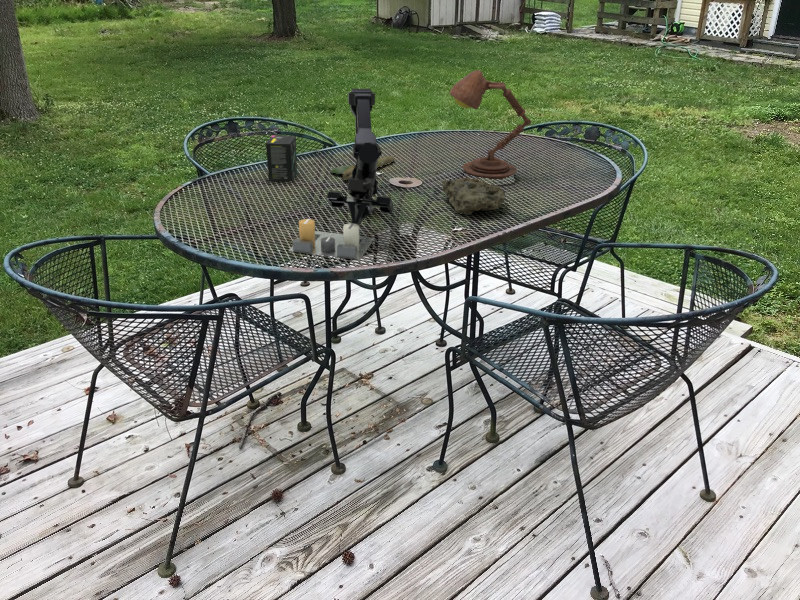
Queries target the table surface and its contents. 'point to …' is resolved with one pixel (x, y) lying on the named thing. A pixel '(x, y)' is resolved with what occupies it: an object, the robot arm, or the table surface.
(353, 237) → the cream knob
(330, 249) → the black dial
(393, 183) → the table surface
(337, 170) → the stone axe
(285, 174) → the tampon box
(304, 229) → the orange knob
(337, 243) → the console plate
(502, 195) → the stone
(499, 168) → the desk lamp
